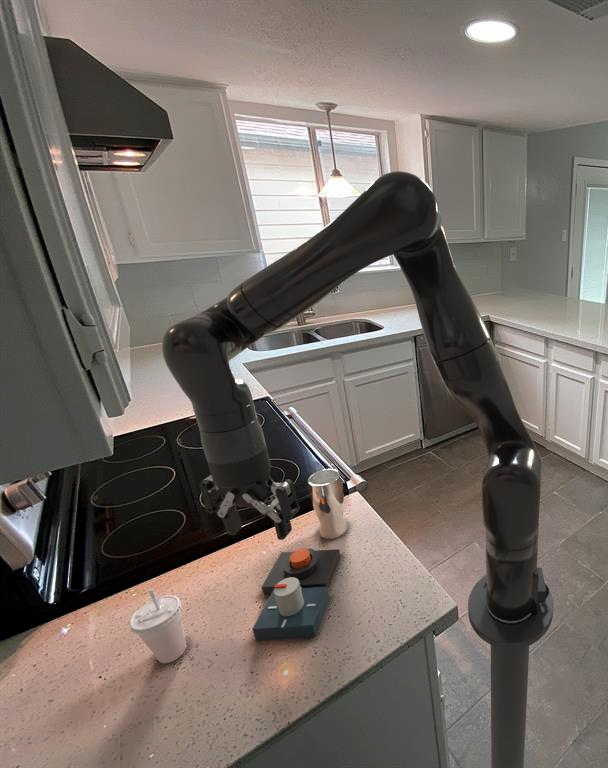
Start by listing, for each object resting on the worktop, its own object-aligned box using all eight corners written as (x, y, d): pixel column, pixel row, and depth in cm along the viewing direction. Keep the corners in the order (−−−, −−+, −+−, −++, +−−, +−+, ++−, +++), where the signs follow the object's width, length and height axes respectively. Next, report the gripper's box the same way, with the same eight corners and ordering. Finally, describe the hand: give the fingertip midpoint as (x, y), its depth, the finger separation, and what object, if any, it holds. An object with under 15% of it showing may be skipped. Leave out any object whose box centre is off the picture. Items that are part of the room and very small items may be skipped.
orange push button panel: (340, 556, 89) (338, 542, 88) (327, 591, 81) (323, 576, 79) (283, 559, 88) (279, 545, 87) (263, 595, 80) (259, 580, 78)
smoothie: (203, 646, 70) (179, 586, 65) (158, 679, 65) (129, 617, 60) (185, 628, 73) (161, 569, 68) (141, 658, 68) (111, 598, 63)
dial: (307, 596, 76) (302, 575, 74) (299, 615, 73) (293, 593, 71) (285, 597, 76) (279, 576, 74) (275, 617, 72) (269, 595, 70)
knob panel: (330, 597, 80) (327, 585, 78) (315, 637, 72) (312, 624, 71) (276, 600, 79) (273, 588, 78) (255, 641, 71) (251, 629, 70)
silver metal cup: (330, 545, 92) (319, 490, 86) (311, 533, 96) (299, 479, 90) (355, 526, 98) (347, 474, 92) (337, 516, 101) (327, 464, 95)
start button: (313, 554, 85) (312, 548, 84) (307, 568, 82) (305, 561, 81) (295, 555, 85) (294, 549, 84) (288, 569, 81) (286, 562, 81)
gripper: (296, 439, 63) (314, 522, 70) (211, 432, 65) (236, 514, 71) (264, 466, 57) (286, 555, 63) (170, 458, 58) (201, 546, 64)
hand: (260, 533), depth 67 cm, fingers open, 8 cm apart
